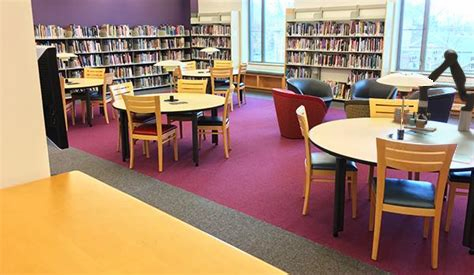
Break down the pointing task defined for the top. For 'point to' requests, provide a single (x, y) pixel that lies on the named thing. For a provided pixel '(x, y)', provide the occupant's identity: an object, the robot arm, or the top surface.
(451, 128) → the top surface
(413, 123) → the teal block
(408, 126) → the blueprint board
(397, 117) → the stack of blocks
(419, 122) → the walnut block
